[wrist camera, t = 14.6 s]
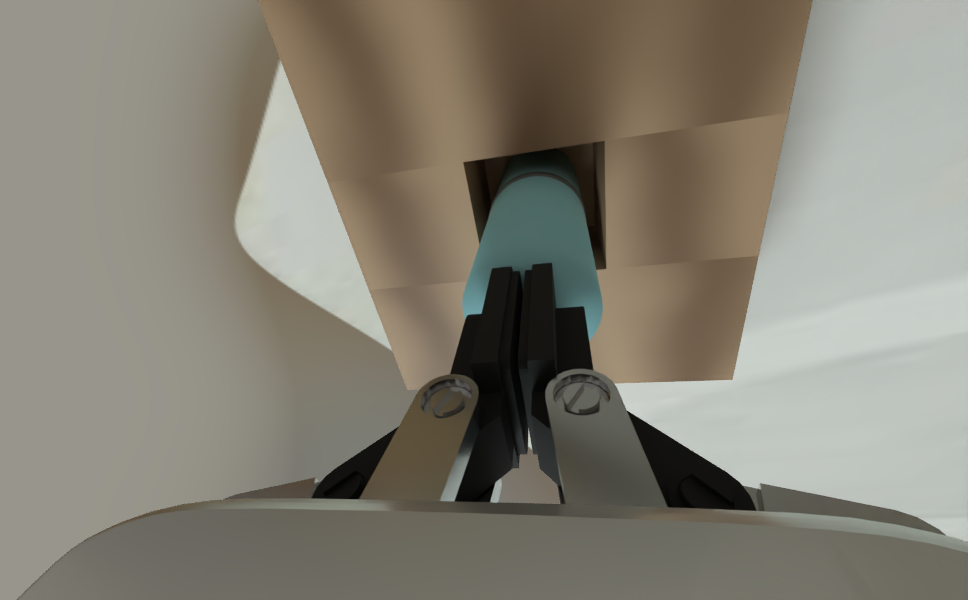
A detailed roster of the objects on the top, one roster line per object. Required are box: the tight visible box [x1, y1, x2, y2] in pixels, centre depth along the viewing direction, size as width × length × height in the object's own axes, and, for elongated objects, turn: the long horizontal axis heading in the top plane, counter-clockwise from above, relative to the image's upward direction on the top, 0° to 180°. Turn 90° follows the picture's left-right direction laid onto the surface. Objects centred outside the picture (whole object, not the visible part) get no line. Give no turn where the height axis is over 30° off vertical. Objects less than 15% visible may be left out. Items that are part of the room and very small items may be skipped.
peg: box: [462, 148, 603, 341], centre depth 16 cm, size 4×4×12 cm
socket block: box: [258, 0, 812, 390], centre depth 20 cm, size 18×20×6 cm
